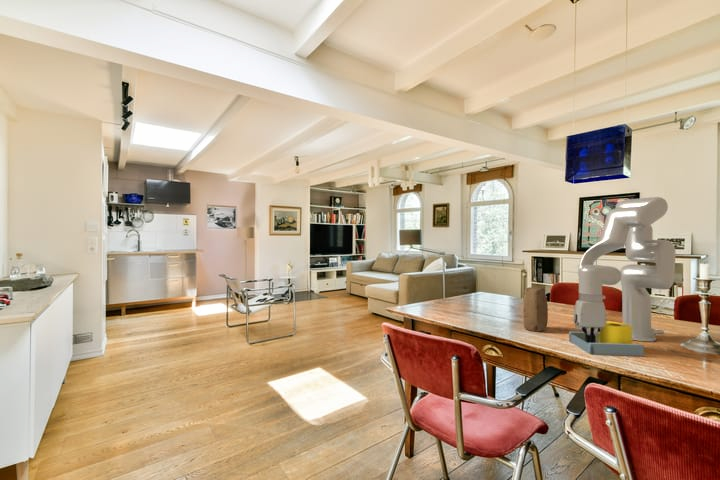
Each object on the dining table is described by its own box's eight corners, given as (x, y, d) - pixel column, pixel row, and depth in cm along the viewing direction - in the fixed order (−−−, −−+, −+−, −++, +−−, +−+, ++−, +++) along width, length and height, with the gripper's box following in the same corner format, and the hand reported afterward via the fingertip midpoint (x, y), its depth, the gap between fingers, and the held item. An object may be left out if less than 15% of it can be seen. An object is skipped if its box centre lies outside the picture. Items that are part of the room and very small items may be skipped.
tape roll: (622, 345, 129) (622, 322, 129) (637, 354, 120) (637, 329, 120) (594, 343, 132) (594, 320, 132) (607, 352, 122) (607, 327, 122)
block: (537, 333, 146) (536, 289, 146) (521, 329, 153) (521, 287, 153) (550, 329, 152) (550, 287, 152) (534, 325, 158) (534, 285, 158)
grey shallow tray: (616, 342, 133) (616, 332, 133) (643, 356, 117) (643, 345, 117) (569, 340, 135) (569, 331, 135) (590, 354, 120) (590, 343, 120)
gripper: (604, 296, 129) (605, 341, 130) (565, 296, 132) (565, 340, 132) (617, 300, 122) (617, 348, 122) (574, 299, 124) (574, 346, 124)
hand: (590, 344), depth 127 cm, fingers closed
